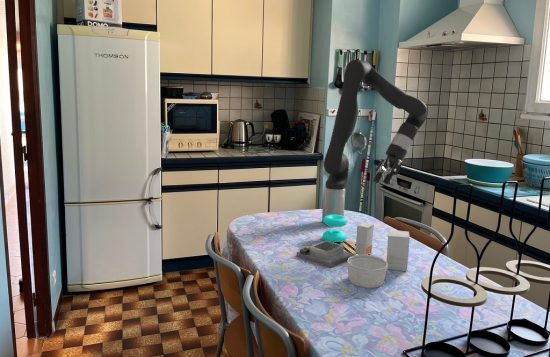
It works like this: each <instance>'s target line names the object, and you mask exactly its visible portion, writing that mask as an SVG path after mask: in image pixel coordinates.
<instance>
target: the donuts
mask: <svg viewBox="0 0 550 357" xmlns="http://www.w3.org/2000/svg"><path fill="white" fill-rule="evenodd" d="M323 221H324V223H325V224H324V223H323V224H324V225H327V226H328V227H331V228H342V227H344V226H345V227H346V225H347V223H348V218H347V217H346V216H345V215H344V216H342V215H327V216H325V217H324V219H323ZM322 239H323V241H325V240H327V241H330V242H341V243H344V242H345V241H346V240H347V234H346V233H345V231H342V230H339V229H328V230H325V231H324V232H323V233H322ZM343 241H344V242H343Z"/></svg>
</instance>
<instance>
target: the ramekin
mask: <svg viewBox="0 0 550 357" xmlns="http://www.w3.org/2000/svg"><path fill="white" fill-rule="evenodd" d="M346 265H347V275H348V280H349V281H350V282H351V284H353V285H355V286H357V287H359V288H365V289H374V288H378V287H380V286H382V285H383V283H384V282H385V278H386V274H387V270H388V269H387V268H388V264H387V260H385V259H383V258H382V257H379V256H375V255H371V254H370V255H355V254H354V255H353V256H351V257H349V258H348V260H347V261H346Z"/></svg>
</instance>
